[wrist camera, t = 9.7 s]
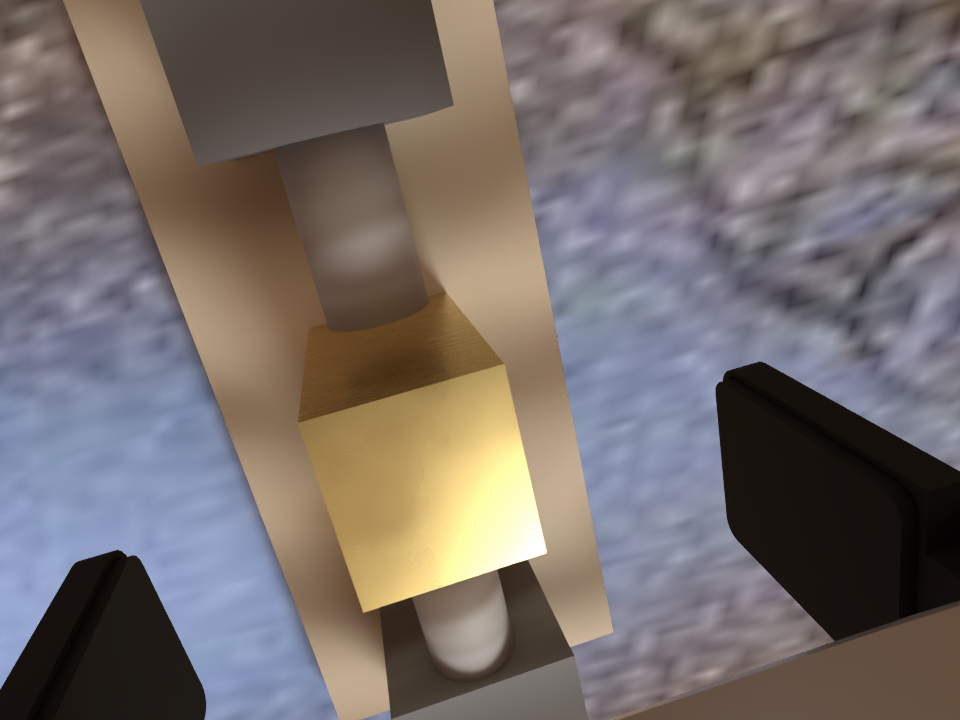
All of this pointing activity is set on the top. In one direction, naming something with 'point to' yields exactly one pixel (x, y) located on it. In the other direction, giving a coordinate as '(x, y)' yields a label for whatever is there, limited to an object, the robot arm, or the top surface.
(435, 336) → the yellow rectangular block
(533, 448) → the shaft mount
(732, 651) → the top surface
